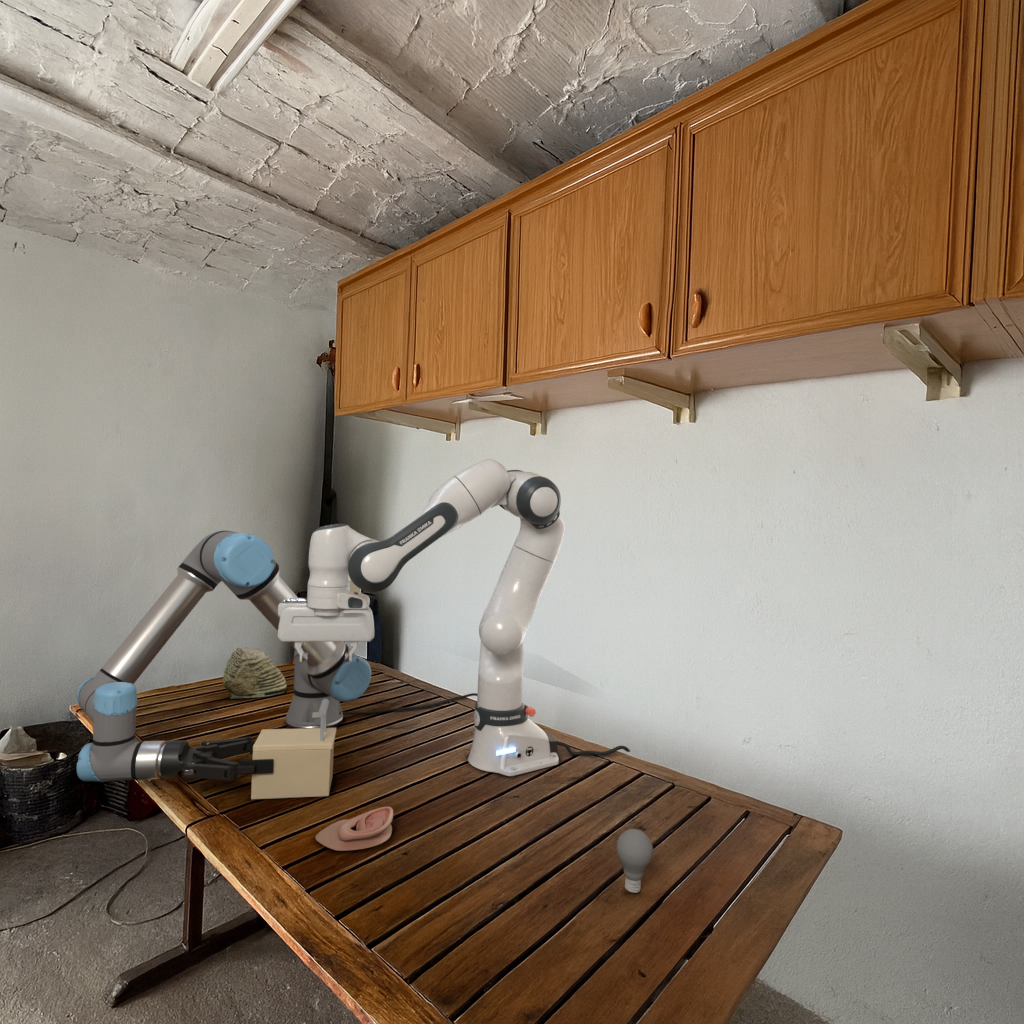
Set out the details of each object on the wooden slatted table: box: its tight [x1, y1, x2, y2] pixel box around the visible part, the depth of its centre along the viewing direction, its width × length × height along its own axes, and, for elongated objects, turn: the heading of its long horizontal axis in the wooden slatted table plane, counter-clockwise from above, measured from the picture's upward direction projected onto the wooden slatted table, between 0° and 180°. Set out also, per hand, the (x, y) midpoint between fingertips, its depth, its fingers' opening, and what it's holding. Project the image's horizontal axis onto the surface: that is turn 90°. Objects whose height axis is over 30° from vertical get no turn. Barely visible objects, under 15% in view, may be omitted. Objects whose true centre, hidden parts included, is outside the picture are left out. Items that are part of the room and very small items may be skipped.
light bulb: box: [615, 828, 654, 894], centre depth 106 cm, size 6×6×10 cm
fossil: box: [222, 646, 288, 699], centre depth 198 cm, size 9×18×15 cm, turn 132°
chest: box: [250, 744, 335, 800], centre depth 137 cm, size 16×10×10 cm, turn 101°
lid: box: [253, 699, 337, 751], centre depth 137 cm, size 16×10×8 cm, turn 101°
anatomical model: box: [315, 806, 394, 852], centre depth 119 cm, size 13×4×12 cm
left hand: (277, 756), depth 137 cm, fingers closed on chest, 10 cm apart
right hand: (326, 661), depth 138 cm, fingers open, 8 cm apart
